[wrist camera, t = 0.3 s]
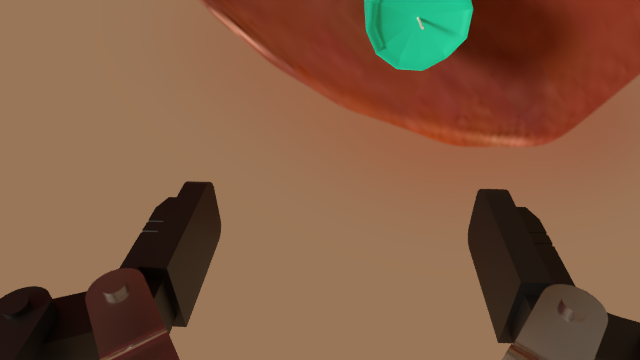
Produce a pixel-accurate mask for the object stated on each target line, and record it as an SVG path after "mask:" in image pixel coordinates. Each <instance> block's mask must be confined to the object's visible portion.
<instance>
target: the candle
mask: <svg viewBox="0 0 640 360" xmlns="http://www.w3.org/2000/svg"><path fill="white" fill-rule="evenodd" d="M364 7H365V22H366V32H367V34H368V36H369V39H370V41H371V43H372V45H373V48H374V50H375V52H376V54H377V55H378V56H379V57H381V58H382V59H384V60H385V61H386V62H388V63H389V64H391V65H392V66H393V67H395V68H396V69H404V70H419V71H423V70H425V69H427V68H429V67H431V66H433V65H434V64H436V63H438V62H440V61H442V60H444V59H446V58H447V57H448V56H449V55H450V54H451V53H452V52H453V51H454V50H456V49H457V48H458V47H459V46H460V45H461V44H462V43H463V42H464V41H465V40H466V39H467V36H468V31H469V26H470V22H471V17H472V12H473V6H472V2H471V0H364Z"/></svg>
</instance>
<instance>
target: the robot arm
mask: <svg viewBox="0 0 640 360" xmlns="http://www.w3.org/2000/svg"><path fill="white" fill-rule="evenodd" d="M220 233H221V221H220V215H219V210H218V206H217V200H216V195H215V191H214V186H213V184H212V183H211V182H186V183H185V184H184V185H183V187H182V189H181V190H180V192H179V194H178V196H177V197H169V198H167V199H166V200H165V201H164V202H162V203H161V204H160V205H159V206H157V207H156V208H155V210H154V212H153V213H152V215H151V217H150V218H149V222H148V223H146V225H145V227H144V228H143V232H142V233H140V235H139V237H138V238H137V240H136V242H135V243H134V245H133V246H132V248H131V250H130V252H129V253H128V255H127V257H126V258H125V260H124V261H123V263H122V265H121V267H120V268H119V269H116V270H113V271H110V272H108V273H106V274H104V275H102V276H101V277H99V278H98V279H96V280H95V281H94V282H93V283H92V284H91V286H90V287H89V289H88V290H87V291H86V292H82V293H78V294H73V295H69V296H64V297H60V298H55V299H52V297H51V296H50V294H49V292H48V291H47V290H46V289H44V288H42V287H35V286H34V287H33V286H32V287H25V288H21V289H18V290H15V291H13V292H11V293H9V294H7V295H5V296H4V297H2V298H1V299H0V360H180V359H179V357H178V355H177V352H176V350H175V347H174V345H173V343H172V341H171V338H170V336H169V334H170V331H171V329H172V326H178V327H186V326H187V324H188V321H189V319H190V316H191V313H192V311H193V308H194V305H195V303H196V300H197V297H198V295H199V292H200V289H201V287H202V284H203V281H204V278H205V276H206V273H207V270H208V268H209V265H210V263H211V260H212V257H213V254H214V252H215V249H216V247H217V244H218V241H219V238H220ZM468 245H469V249H470V253H471V256H472V259H473V263H474V266H475V269H476V272H477V275H478V279H479V282H480V285H481V289H482V291H483V295H484V298H485V302H486V305H487V308H488V311H489V314H490V318H491V321H492V324H493V327H494V330H495V334H496V337H497V341H498V343H513V345H511V346H510V347H509V349H508V350H507V352H506V354H505V356H504V358H503V359H502V360H640V323H639V322H636V321H632V320H628V319H625V318H621V317H618V316H615V315H612V314H609V313H607V312H606V310H605V308H604V307H603V305H602V304H601V303H600V302H599V301H598V300H597V299H596V298H595V297H594V296H592V295H591V294H589V293H588V292H586V291H584V290H582V289H580V288H577V287H576V286H575V285H574V283H573V281H572V279H571V277H570V275H569V273H568V272H567V270H566V268H565V266H564V264H563V262H562V260H561V259H560V257H559V255H558V253H557V251H556V250H555V247H553V246H552V242H551V240H550V238H549V236H548V235H546V231H545V229H544V227H543V225H542V223H541V222H540V220H539V219H538V218H537V217H536V216H535V215H534V214H533V213H532V212H530V211H529V210H528V209H527V208H526V207H516V206H515V204H514V201H513V200H512V197H511V195H510V193H509V192H508V190H503V189H480V190H479V191H478V193H477V196H476V200H475V204H474V208H473V212H472V216H471V220H470V225H469V229H468Z"/></svg>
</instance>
